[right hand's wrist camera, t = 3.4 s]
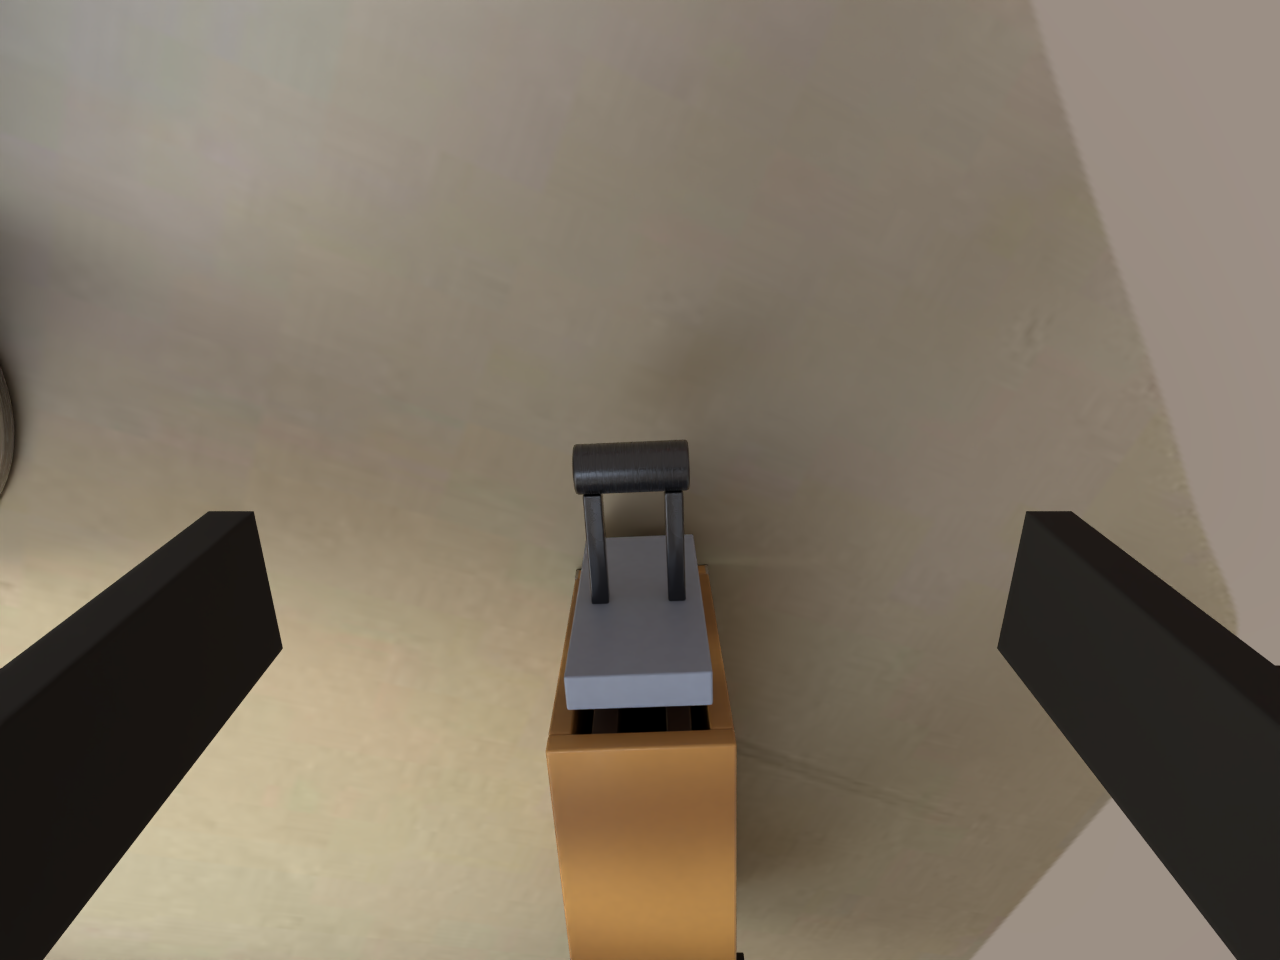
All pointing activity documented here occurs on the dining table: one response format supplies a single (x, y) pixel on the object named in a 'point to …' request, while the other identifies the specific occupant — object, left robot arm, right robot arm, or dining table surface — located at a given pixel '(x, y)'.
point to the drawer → (637, 599)
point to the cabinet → (647, 826)
